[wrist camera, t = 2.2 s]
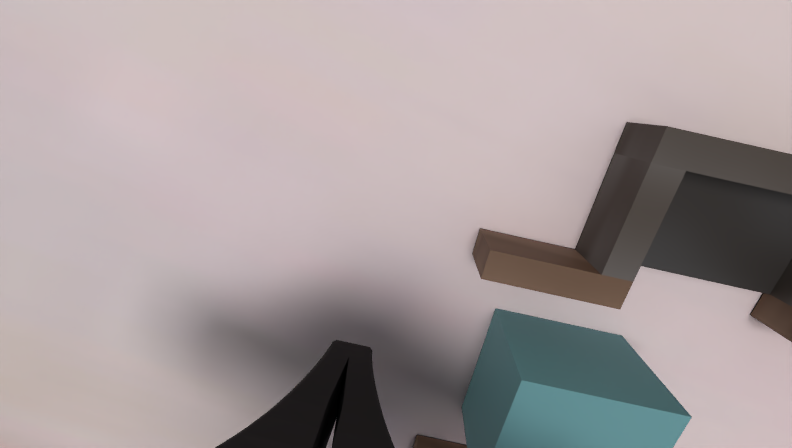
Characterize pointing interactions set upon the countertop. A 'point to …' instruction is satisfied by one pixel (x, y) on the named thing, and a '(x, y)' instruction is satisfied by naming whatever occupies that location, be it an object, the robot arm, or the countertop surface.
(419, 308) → the countertop surface
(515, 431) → the teal block
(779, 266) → the trap channel
